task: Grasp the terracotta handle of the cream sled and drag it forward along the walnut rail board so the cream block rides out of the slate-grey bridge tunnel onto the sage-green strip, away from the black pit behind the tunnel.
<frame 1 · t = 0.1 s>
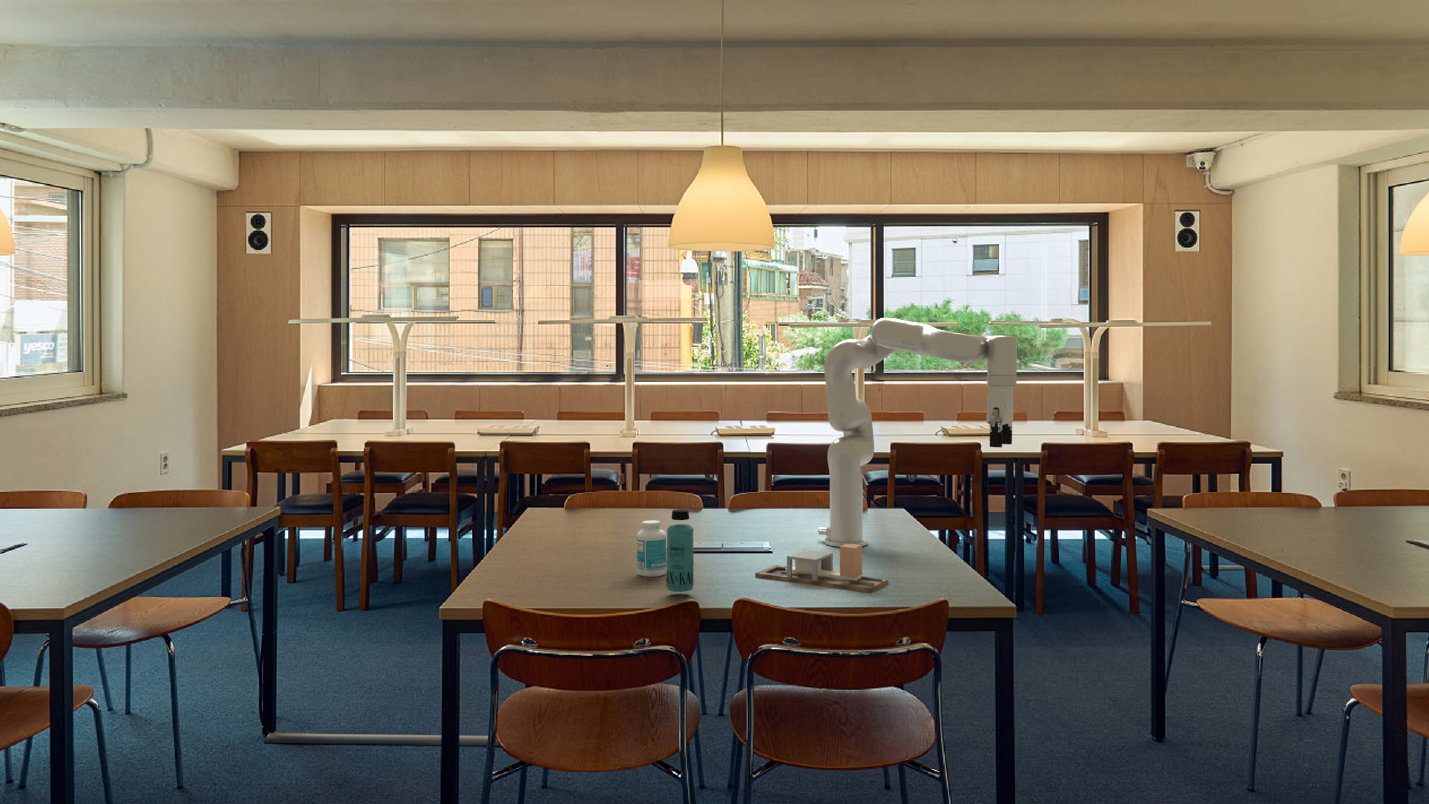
hand: (1000, 445, 263), 31 cm above the table, fingers open, 9 cm apart
rail board: (820, 580, 243), on the table
pill bottle: (651, 575, 249), on the table
bridge tunnel: (810, 564, 244), point 4 cm above the table
sled: (822, 558, 242), point 5 cm above the table, slide at 0.0 cm
beverage bottle: (680, 595, 228), on the table
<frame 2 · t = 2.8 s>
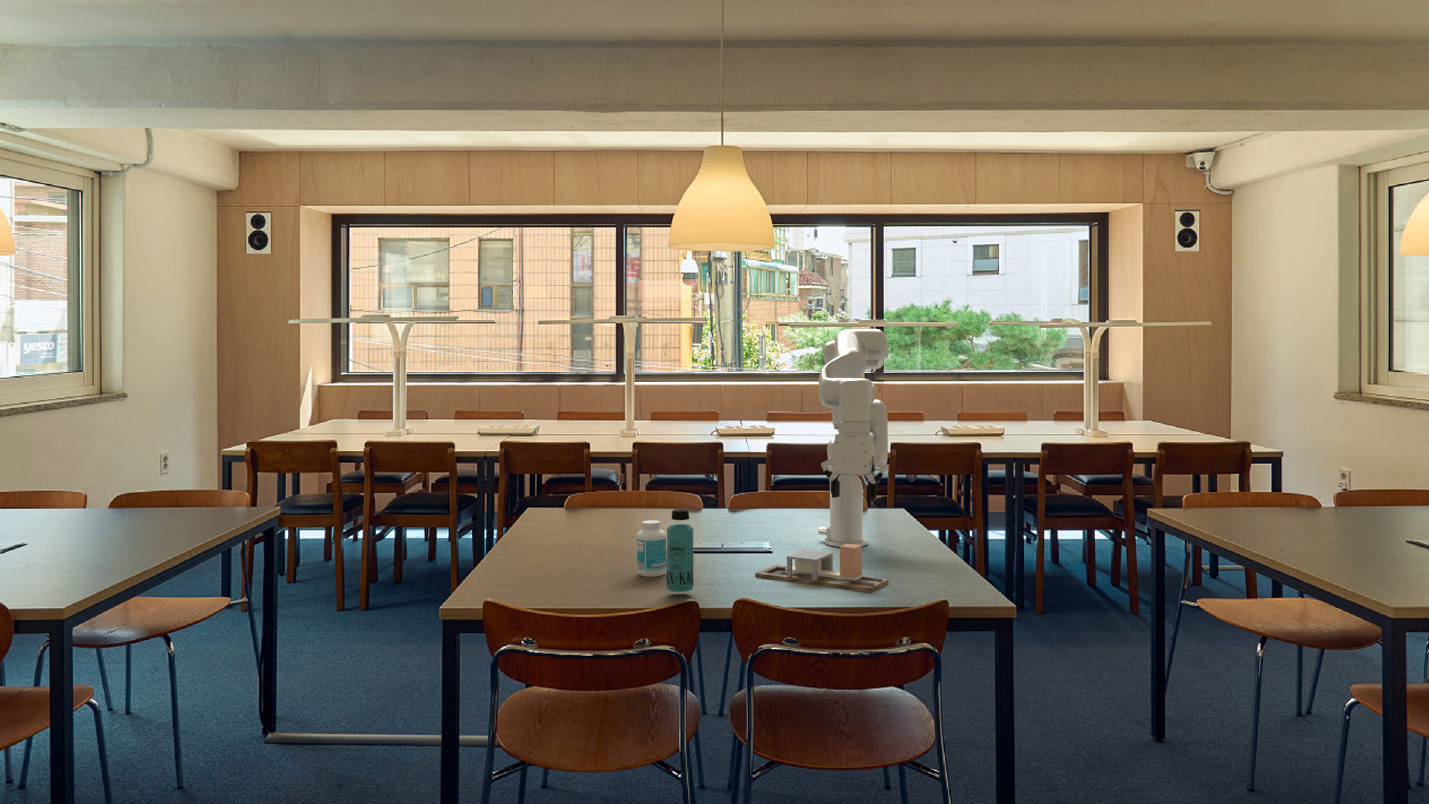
hand: (853, 498, 242), 20 cm above the table, fingers open, 9 cm apart
nothing on the table moved.
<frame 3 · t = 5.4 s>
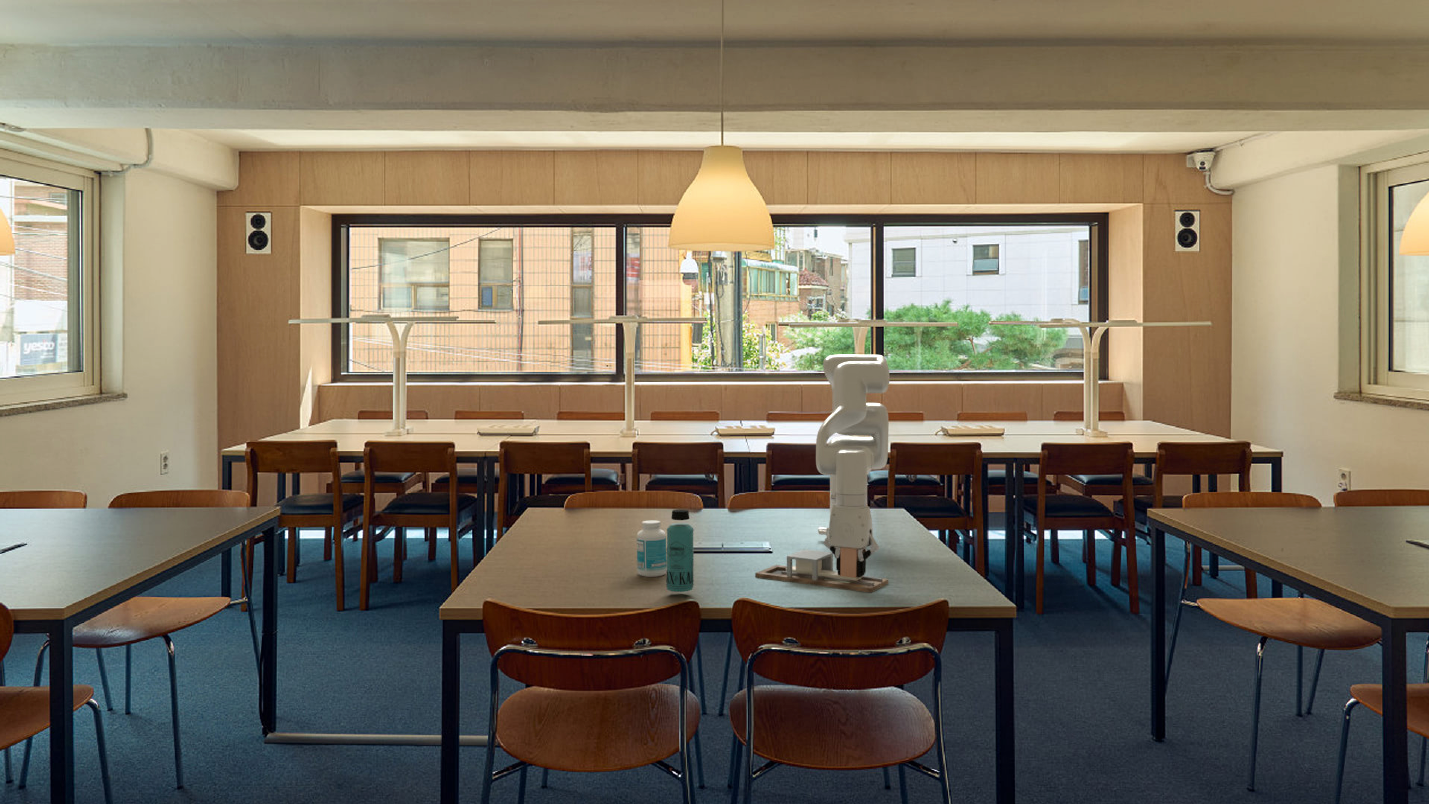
hand: (850, 574, 238), 2 cm above the table, fingers closed on sled, 4 cm apart
sled: (823, 558, 242), point 5 cm above the table, slide at 0.2 cm, touching gripper
everything else where it was.
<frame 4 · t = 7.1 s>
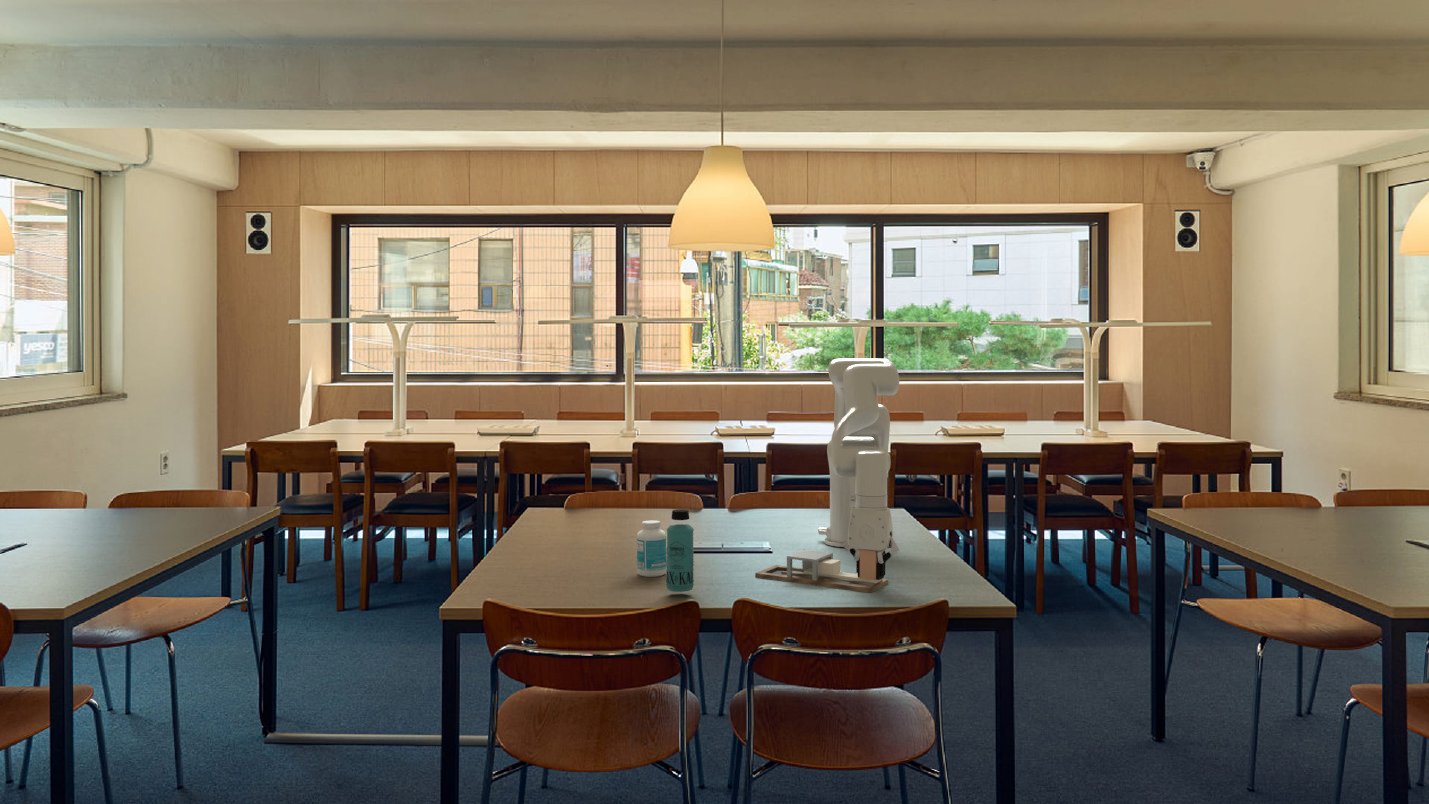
hand: (870, 576, 236), 2 cm above the table, fingers closed on sled, 4 cm apart
sled: (842, 561, 239), point 5 cm above the table, slide at 5.2 cm, touching gripper
everything else where it was.
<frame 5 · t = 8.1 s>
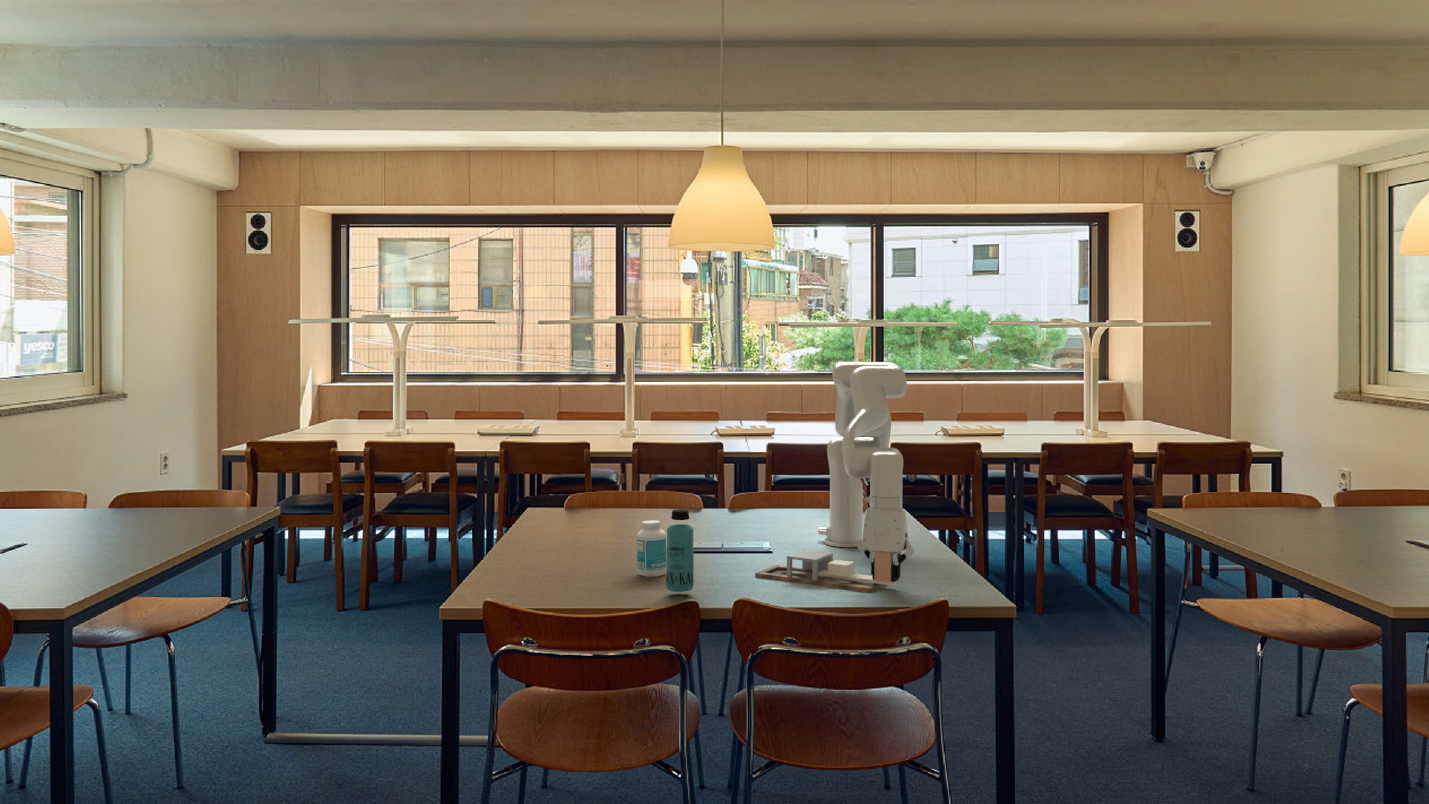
hand: (885, 578, 234), 2 cm above the table, fingers closed on sled, 4 cm apart
sled: (856, 562, 237), point 5 cm above the table, slide at 9.0 cm, touching gripper
everything else where it was.
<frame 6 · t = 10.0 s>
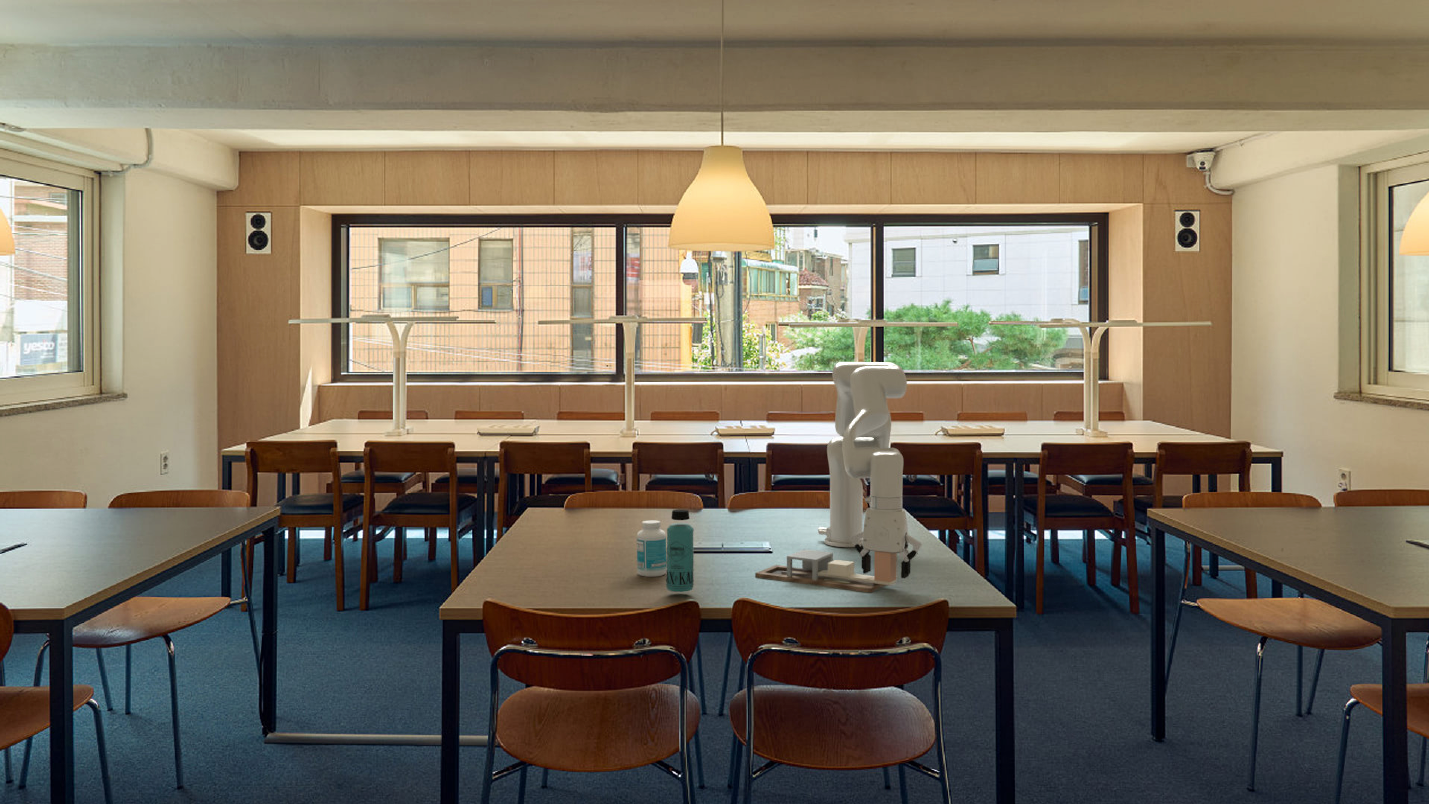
hand: (885, 574, 234), 3 cm above the table, fingers open, 9 cm apart
sled: (856, 562, 237), point 5 cm above the table, slide at 8.9 cm
everything else where it was.
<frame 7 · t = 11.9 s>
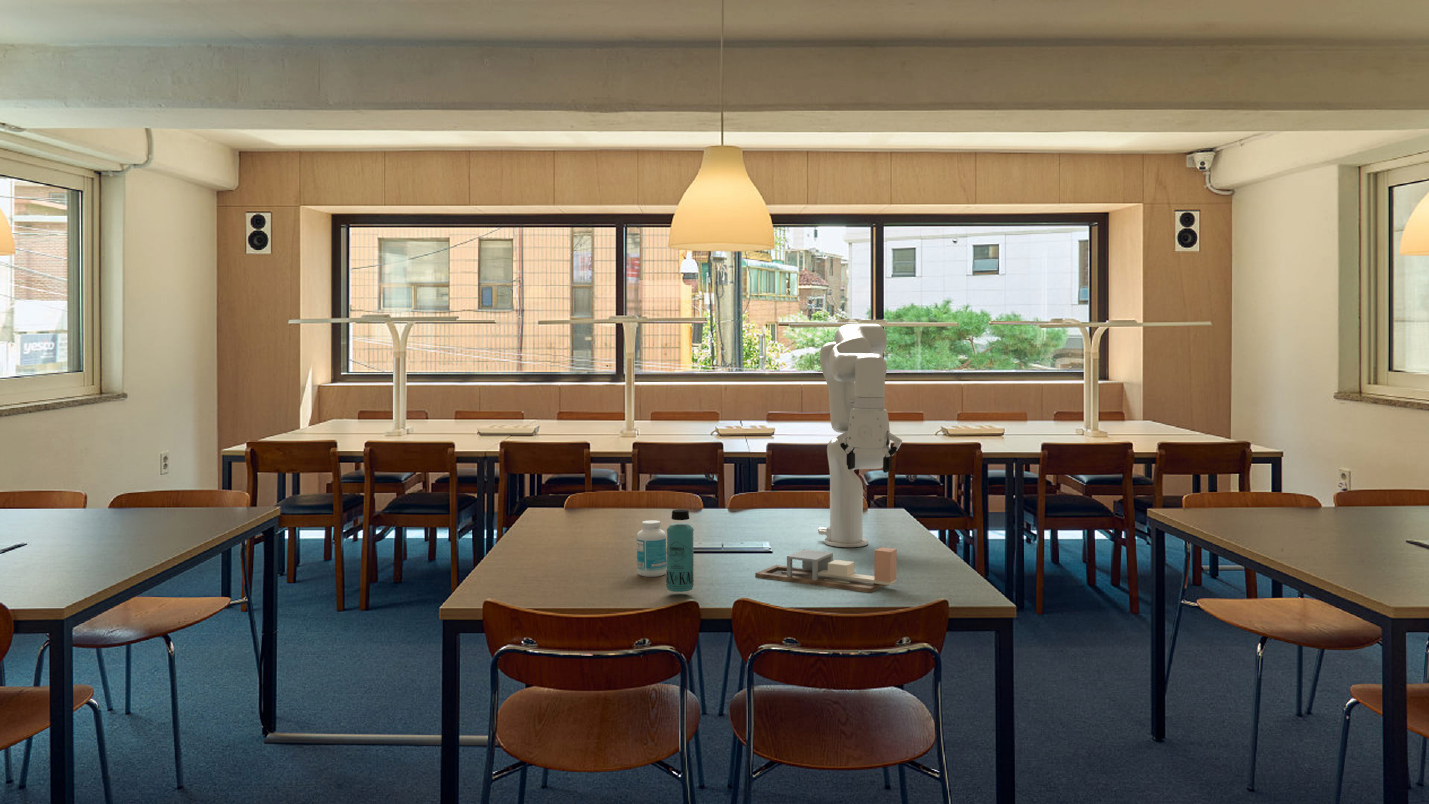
hand: (868, 470, 251), 26 cm above the table, fingers open, 9 cm apart
nothing on the table moved.
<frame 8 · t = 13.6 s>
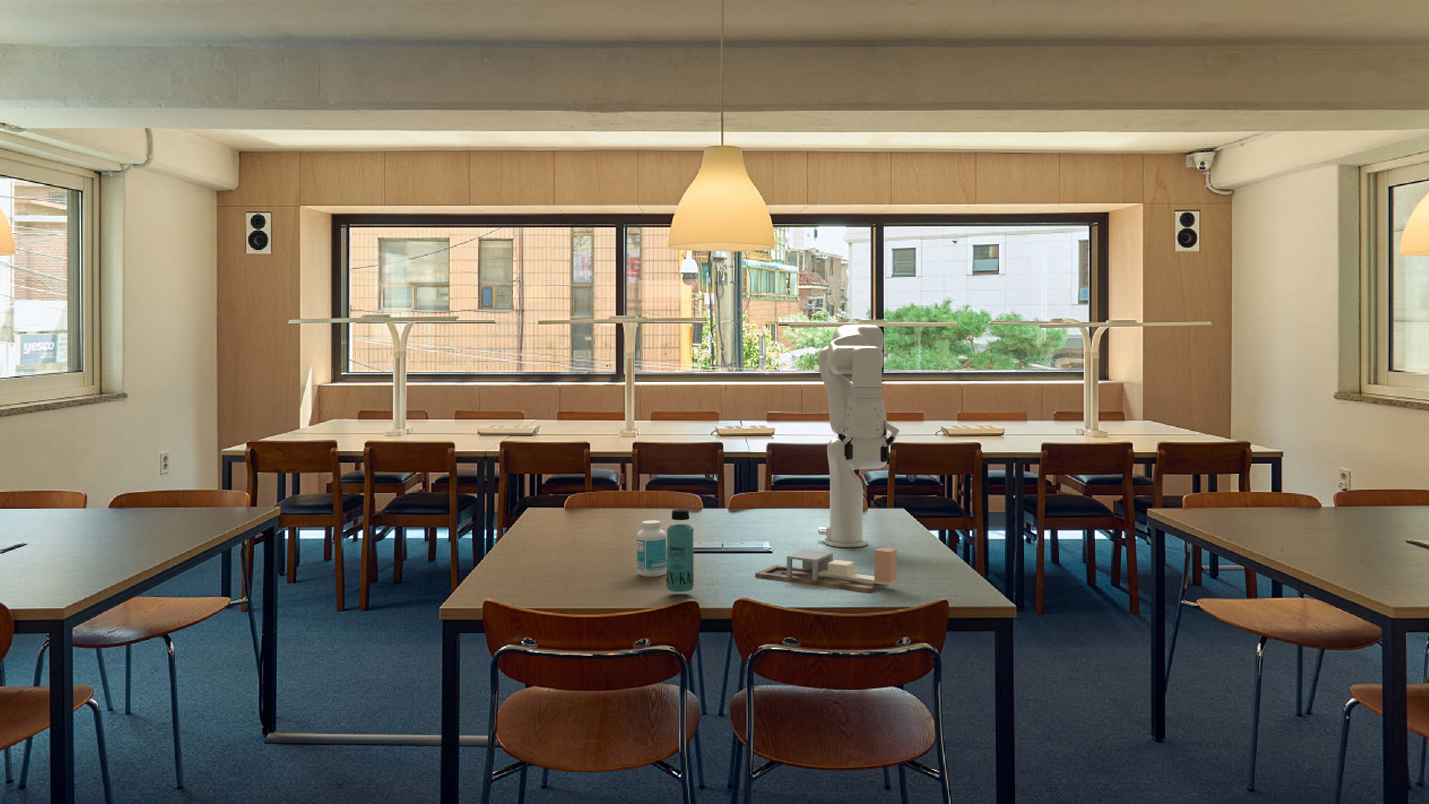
hand: (866, 460, 254), 28 cm above the table, fingers open, 9 cm apart
nothing on the table moved.
at the end: sled slide at 8.9 cm; the gripper is holding nothing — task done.
